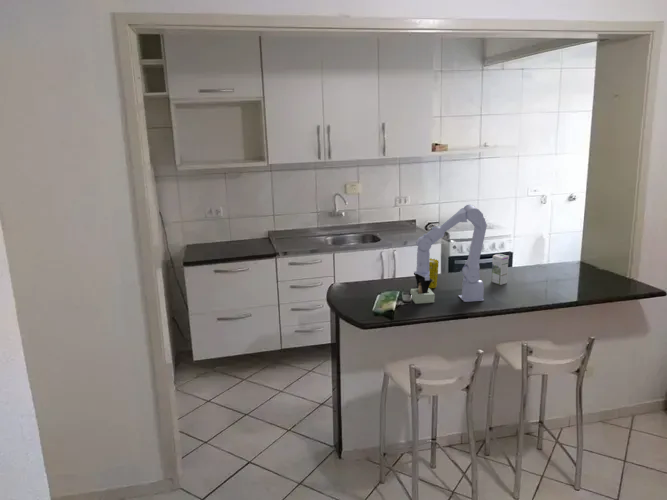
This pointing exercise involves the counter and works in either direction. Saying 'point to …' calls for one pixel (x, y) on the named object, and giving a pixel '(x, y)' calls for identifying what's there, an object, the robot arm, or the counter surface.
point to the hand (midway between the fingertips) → (422, 290)
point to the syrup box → (499, 269)
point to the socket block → (422, 296)
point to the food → (433, 272)
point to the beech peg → (420, 289)
